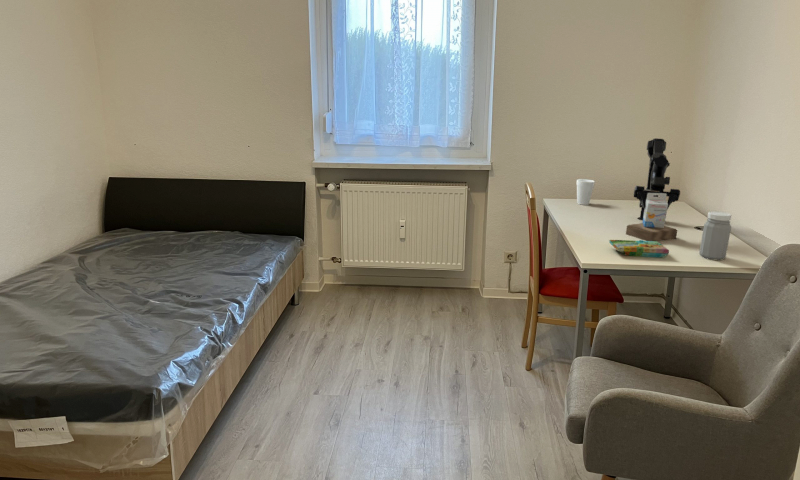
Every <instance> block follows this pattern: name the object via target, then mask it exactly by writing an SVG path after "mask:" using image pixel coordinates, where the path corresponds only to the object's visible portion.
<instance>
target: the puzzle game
mask: <svg viewBox="0 0 800 480" xmlns="http://www.w3.org/2000/svg"><path fill="white" fill-rule="evenodd" d="M608 241H609V243H608V244H610V245H611V246H612V247H614V249H616V250H617V251H618V252H620V253H622V254H623V255H625V256H626V257H646V258H662V257H664V258H665V257H666V256H667V255H668V254H669V253H670V250H669V249H668V248H667V247H665V246H664V245H663V244H662V243H660V241H645V240H642V239H639V240H629V239H628V240H627V239H626V240H625V239H624V240H623V239H608Z"/></svg>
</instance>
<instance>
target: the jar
mask: <svg viewBox="0 0 800 480" xmlns="http://www.w3.org/2000/svg"><path fill="white" fill-rule="evenodd" d="M731 219H732V214H731V213H729V212H724V211H708V213H707V218H706V222H704V225H703V230H702V235H701V241H700V246H699V255H700V256H701V257H702V258H703V257H704V258H703V259H707V258H708V259H707V260H711V259H717V260H716V261H721V260H720V259H723V260H724V259H725V258H726V257H727V252H728V246H729V241H730V235H731V230H732V225H731Z"/></svg>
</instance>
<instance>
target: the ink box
mask: <svg viewBox="0 0 800 480" xmlns="http://www.w3.org/2000/svg"><path fill="white" fill-rule="evenodd" d="M654 195H658V197H653V196H654ZM666 195H667V194H666V193H648V194H647V199H646V203H645V210H644V216H643V220H642V222H641V223H643V225H644V227H654V228H664V226H665V224H666V218H667V213H668V212H667V211H668V210H667V208H668V203H667V202H668V200H667V196H666ZM668 209H669V208H668Z"/></svg>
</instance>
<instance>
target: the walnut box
mask: <svg viewBox="0 0 800 480" xmlns="http://www.w3.org/2000/svg"><path fill="white" fill-rule="evenodd" d="M677 234H678V229H677V228H673V227H670V226H668V225H664V228H654V227H644V225H643V223H642V222H641V223H632V224H628V225H626V231H625V235H627V236H631V237H634V238H637V239H639V240H643V241H657V242H661V241H662V242H663V241H669V240H670V239H671V240H676V239H677Z"/></svg>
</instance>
